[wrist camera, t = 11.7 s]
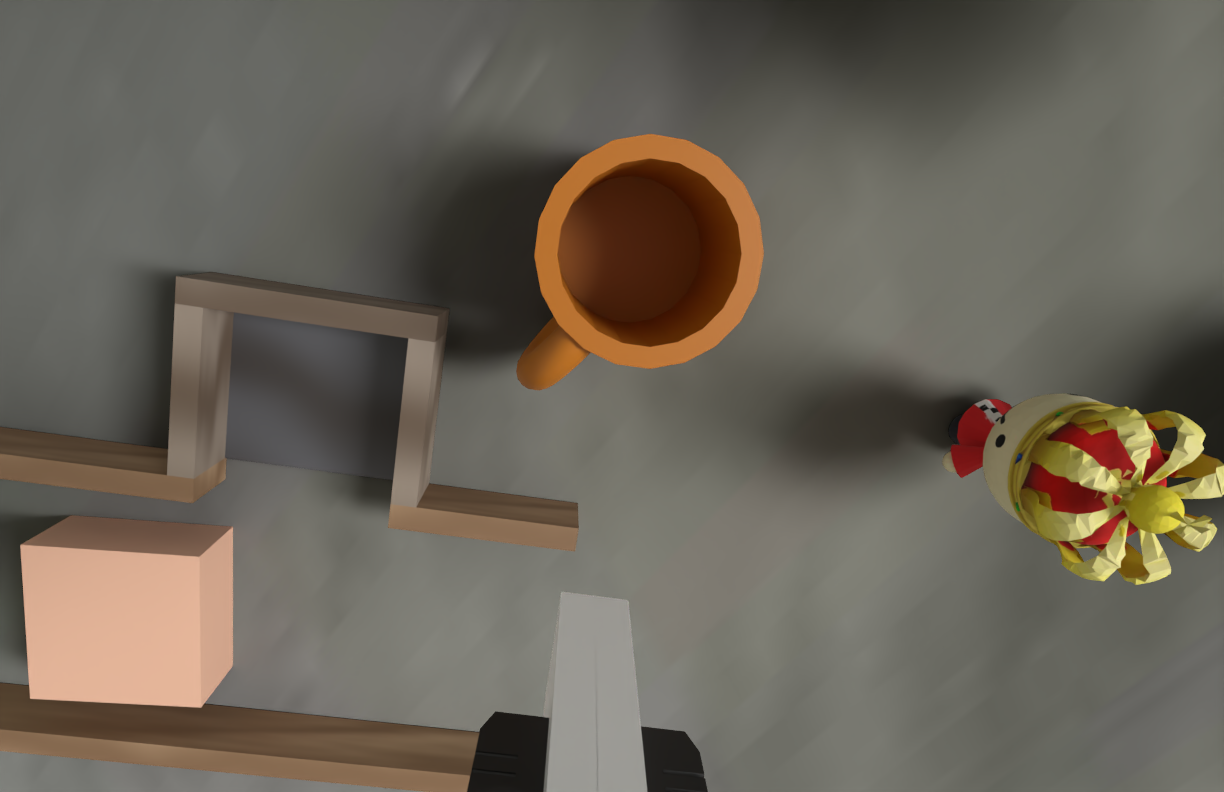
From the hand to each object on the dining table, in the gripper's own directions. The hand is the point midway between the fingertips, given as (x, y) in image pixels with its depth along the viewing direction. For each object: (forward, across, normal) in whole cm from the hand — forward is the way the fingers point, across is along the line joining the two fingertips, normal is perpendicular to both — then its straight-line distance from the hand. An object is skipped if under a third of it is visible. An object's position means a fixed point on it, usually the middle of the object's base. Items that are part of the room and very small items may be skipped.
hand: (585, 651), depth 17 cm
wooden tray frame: (+22, -15, -8) cm, 28 cm away
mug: (+23, 0, +7) cm, 24 cm away
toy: (+24, +21, +2) cm, 32 cm away
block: (+22, -21, -13) cm, 34 cm away
